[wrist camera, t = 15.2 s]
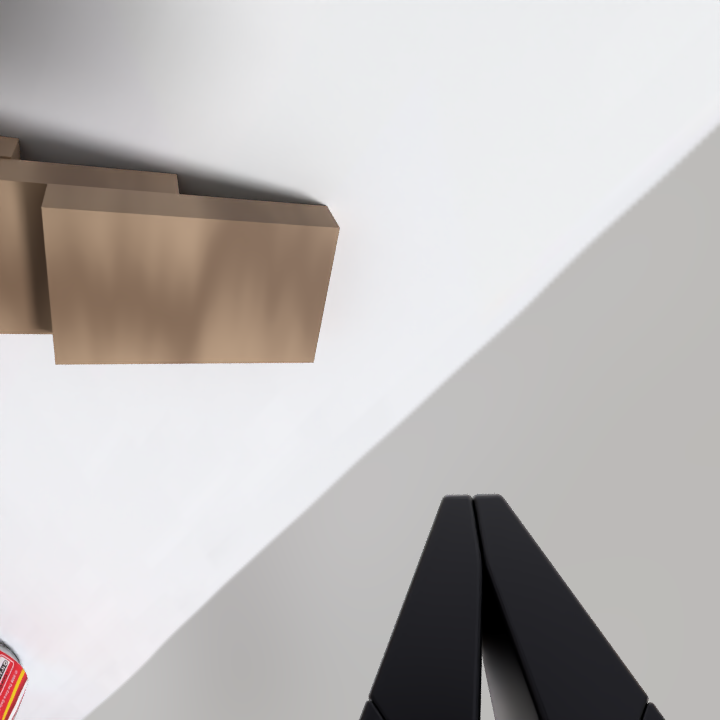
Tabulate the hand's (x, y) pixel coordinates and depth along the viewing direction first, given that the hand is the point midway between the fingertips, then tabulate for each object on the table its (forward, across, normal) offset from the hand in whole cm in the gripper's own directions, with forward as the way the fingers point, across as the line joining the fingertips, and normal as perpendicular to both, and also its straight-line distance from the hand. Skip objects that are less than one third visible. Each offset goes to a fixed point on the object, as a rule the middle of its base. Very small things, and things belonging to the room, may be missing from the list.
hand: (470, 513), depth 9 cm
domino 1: (+12, +4, +2) cm, 13 cm away
